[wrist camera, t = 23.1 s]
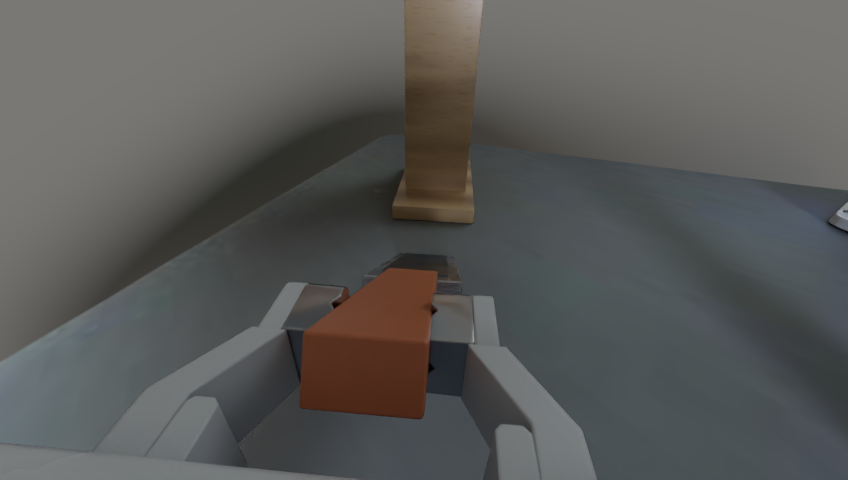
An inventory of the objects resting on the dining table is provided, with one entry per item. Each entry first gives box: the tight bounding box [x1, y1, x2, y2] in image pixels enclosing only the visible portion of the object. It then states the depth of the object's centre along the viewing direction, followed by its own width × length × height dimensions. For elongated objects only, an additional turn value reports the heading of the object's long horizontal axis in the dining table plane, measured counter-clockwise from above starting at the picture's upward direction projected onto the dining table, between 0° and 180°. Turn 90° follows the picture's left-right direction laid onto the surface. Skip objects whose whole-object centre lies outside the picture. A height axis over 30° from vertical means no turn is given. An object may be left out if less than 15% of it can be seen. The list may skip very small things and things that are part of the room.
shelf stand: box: [392, 0, 483, 223], centre depth 34 cm, size 14×8×26 cm, turn 175°
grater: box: [300, 253, 462, 419], centre depth 17 cm, size 22×4×1 cm
